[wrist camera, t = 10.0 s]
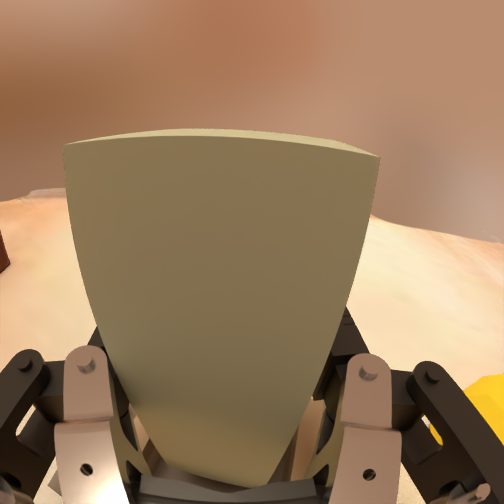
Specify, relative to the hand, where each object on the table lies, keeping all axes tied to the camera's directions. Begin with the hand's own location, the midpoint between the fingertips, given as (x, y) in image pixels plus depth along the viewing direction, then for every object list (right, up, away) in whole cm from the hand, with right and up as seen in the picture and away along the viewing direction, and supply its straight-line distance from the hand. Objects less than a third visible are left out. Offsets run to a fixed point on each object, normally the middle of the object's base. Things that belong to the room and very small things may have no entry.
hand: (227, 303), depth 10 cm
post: (0, -7, +1) cm, 7 cm away
